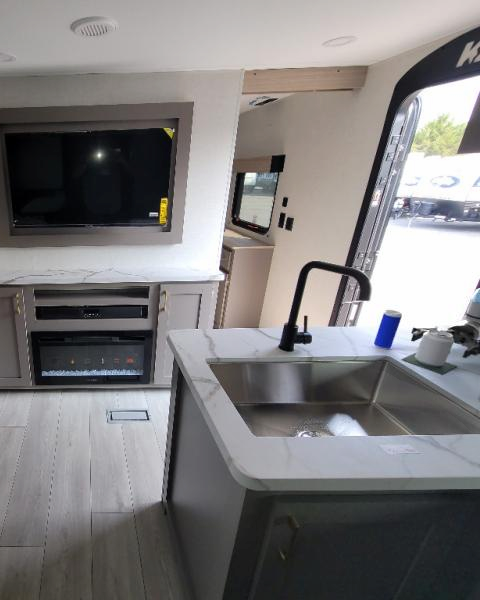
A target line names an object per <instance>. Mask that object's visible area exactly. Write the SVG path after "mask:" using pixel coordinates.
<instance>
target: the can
mask: <svg viewBox="0 0 480 600" xmlns="http://www.w3.org/2000/svg"><path fill="white" fill-rule="evenodd" d="M441 330H442V329H440V330H435V329H431V330H428V332H426V333H424V334H423V337H422V338H420V342H419V345H418V347H417V350H416V352H415V353H416V355H415V358H416V359H417V360H418V361H419V362H421V363H423V364H425V365H429V366H435V367H438V366H442V365H444V364H445V362H447V359H448V356H449V354H450V352H451V351H452V350H451V349H452V348H453V345H454V344H455V343H454V339H453V338H452V337H453V335H452V334H450V333H448V332H445V331H441Z"/></svg>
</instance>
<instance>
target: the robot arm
mask: <svg viewBox="0 0 480 600" xmlns="http://www.w3.org/2000/svg"><path fill="white" fill-rule="evenodd" d="M431 329H435V330H441V331H445V332H448V333H450V334H452V335H453V337H452V338H453V339H454V343H453V344H456V345H461V346H462V347H466V348H467V349H465V350H464V352H463V355H462V358H463V359H467V358H468V357H471V356H472V355H473V356H477V355H480V288H477V289H476V290H475V291H474V293H473V295H472V297H471V298H470V302H469V304H468V307H467V310H466V312H465V313H464V316H463V317H462V320H461V321H459V322H458V323H456V324H453V325H451V326H449V327H448V328H446V329H440V328H439V326H437V325H434V326H415V327H414V326H413V327H412V330H411V332H410V333H411V334H412V336H411V339H410V342H413V343H415V342H416V341H418V340H421V339H422V337H423V334H424V333H426V332H428V330H431Z"/></svg>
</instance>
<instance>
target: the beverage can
mask: <svg viewBox="0 0 480 600" xmlns="http://www.w3.org/2000/svg"><path fill="white" fill-rule="evenodd" d="M402 314H403V313H402V312H400V311H398V310H393V309H386V310H385V311H384V312H383V314H382V316H381V317H382V318H381V320H380V323H379V326H378V330H377V332H376V335H375V338H374V342H373V344H374V346H375V347H376V348H378V349H382V350H389V349H391V348H392V346H393V343H394V340H395V336H396V334H397V332H398V328H399V326H400V323H401V320H402V317H403V315H402Z"/></svg>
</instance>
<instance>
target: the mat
mask: <svg viewBox="0 0 480 600" xmlns="http://www.w3.org/2000/svg"><path fill="white" fill-rule="evenodd" d="M415 355H416V352H414V353H412V354H410V355H408V356H405V357H403V358H402V359H401V361H404V362H407V363H409V364H411V365H414V366H418V367H420V368H423V369H425V370H428V371H431V372H434V373H436V374H438V375H443V374H446V373H448V372H450V371H451V370H453V369H455V368H457V367H458V365H455V364H452V363H449V362H447V361H445V364H444V365H442V366H438V367H435V366H429V365H425V364H423V363H421V362H419V361H418V360H417V359H416V358H415Z"/></svg>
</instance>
